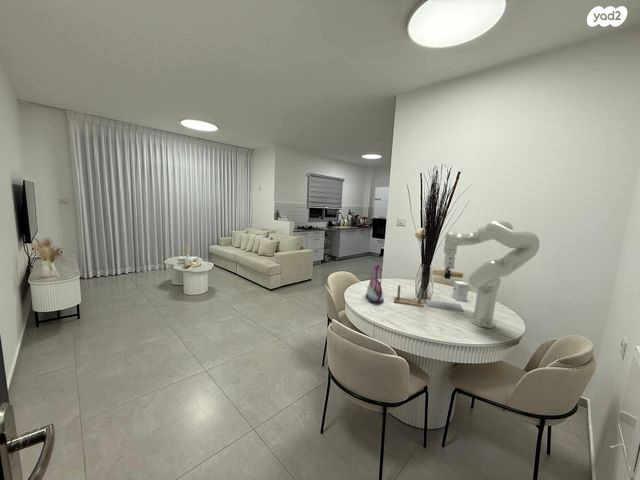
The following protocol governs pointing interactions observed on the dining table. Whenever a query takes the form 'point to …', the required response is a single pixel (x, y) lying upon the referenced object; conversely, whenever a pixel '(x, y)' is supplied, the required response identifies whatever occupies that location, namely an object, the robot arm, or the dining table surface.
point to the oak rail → (442, 273)
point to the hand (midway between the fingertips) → (446, 277)
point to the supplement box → (460, 290)
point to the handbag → (375, 288)
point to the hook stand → (409, 301)
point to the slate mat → (444, 305)
